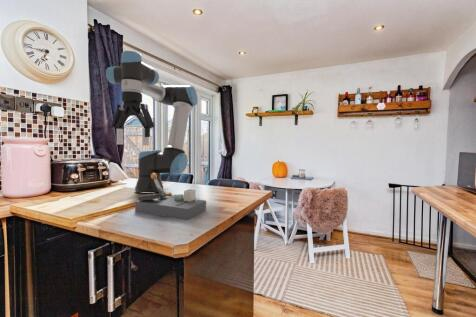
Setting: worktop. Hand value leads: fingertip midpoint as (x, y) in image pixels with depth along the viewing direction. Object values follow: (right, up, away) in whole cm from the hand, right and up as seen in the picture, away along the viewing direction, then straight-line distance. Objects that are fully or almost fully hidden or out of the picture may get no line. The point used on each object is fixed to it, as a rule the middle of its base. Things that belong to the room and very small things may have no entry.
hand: (132, 145), depth 98 cm
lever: (+11, -21, +3) cm, 24 cm away
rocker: (+8, -21, -2) cm, 22 cm away
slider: (+23, -23, 0) cm, 33 cm away
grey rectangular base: (+16, -27, -1) cm, 31 cm away
